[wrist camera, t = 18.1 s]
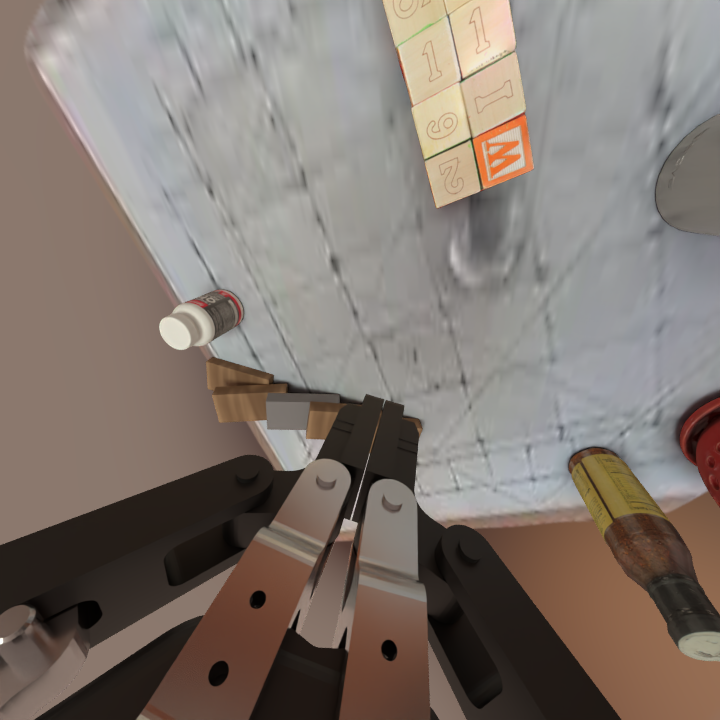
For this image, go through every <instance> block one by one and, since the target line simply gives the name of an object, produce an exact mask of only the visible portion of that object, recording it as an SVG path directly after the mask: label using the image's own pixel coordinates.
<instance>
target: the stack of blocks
mask: <svg viewBox="0 0 720 720" xmlns="http://www.w3.org/2000/svg"><path fill="white" fill-rule="evenodd" d="M382 1H383V5H384V9H385V13H386V16H387V19H388V23H389V26H390V30H391V34H392V37H393V41H394V45H395V48H396V52H397V55H398V59H399V63H400V67H401V70H402V74H403V78H404V80H405V83H406V87H407V90H408V94H409V98H410V102H411V105H412V108H411V111H412V115H413V119H414V122H415V126H416V130H417V134H418V138H419V142H420V146H421V150H422V154H423V158H424V162H425V167H426V170H427V174H428V178H429V182H430V186H431V190H432V194H433V198H434V202H435V206H436V208H437V209H438V208H441V207H443V206H445V205H448V204H450V203H452V202H455V201H457V200H460V199H462V198H465V197H467V196H470V195H472V194H475V193H477V192H480V191H482V190H485V189H487V188H490V187H492V186H494V185H497V184H499V183H502V182H504V181H507V180H509V179H512V178H514V177H517V176H519V175H522V174H524V173H526V172H529V171H531V170H533V169H534V164H533V158H532V151H531V145H530V139H529V132H528V126H527V119H526V116H525V111H526V105H525V99H524V93H523V88H522V82H521V76H520V70H519V64H518V59H517V54H516V52H515V49H516V38H515V31H514V26H513V20H512V14H511V8H510V3H509V0H382Z"/></svg>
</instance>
